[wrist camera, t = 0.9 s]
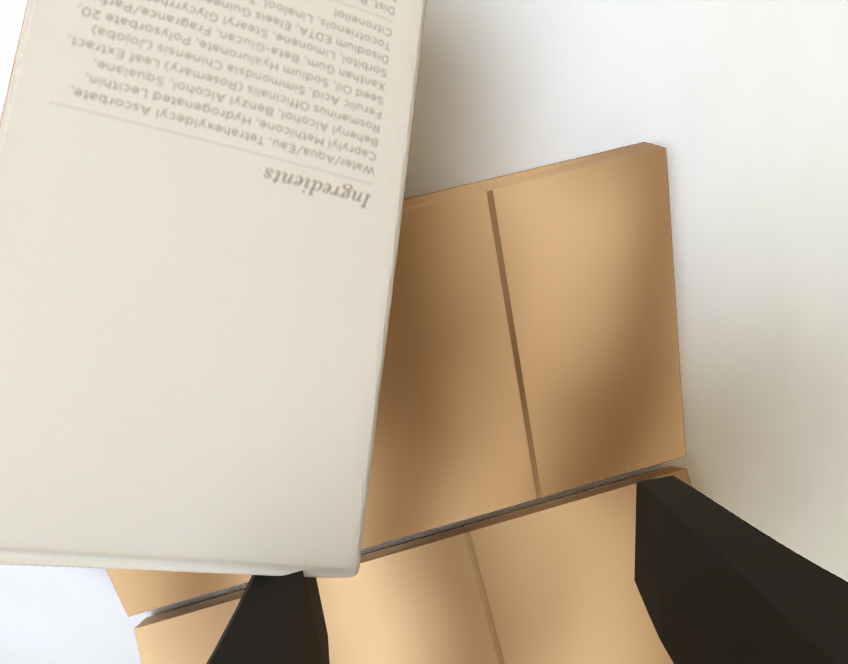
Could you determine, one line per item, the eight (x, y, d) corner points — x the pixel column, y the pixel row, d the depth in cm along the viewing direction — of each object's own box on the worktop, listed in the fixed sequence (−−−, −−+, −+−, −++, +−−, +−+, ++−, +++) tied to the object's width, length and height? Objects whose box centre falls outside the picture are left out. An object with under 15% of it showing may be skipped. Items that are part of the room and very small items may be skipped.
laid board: (136, 589, 23) (129, 619, 22) (2, 296, 19) (-16, 313, 18) (666, 438, 25) (685, 459, 24) (644, 142, 21) (666, 148, 20)
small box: (76, -231, 10) (-119, 567, 8) (445, -75, 12) (366, 589, 10) (90, 53, 17) (-10, 507, 15) (318, 119, 19) (257, 528, 17)
